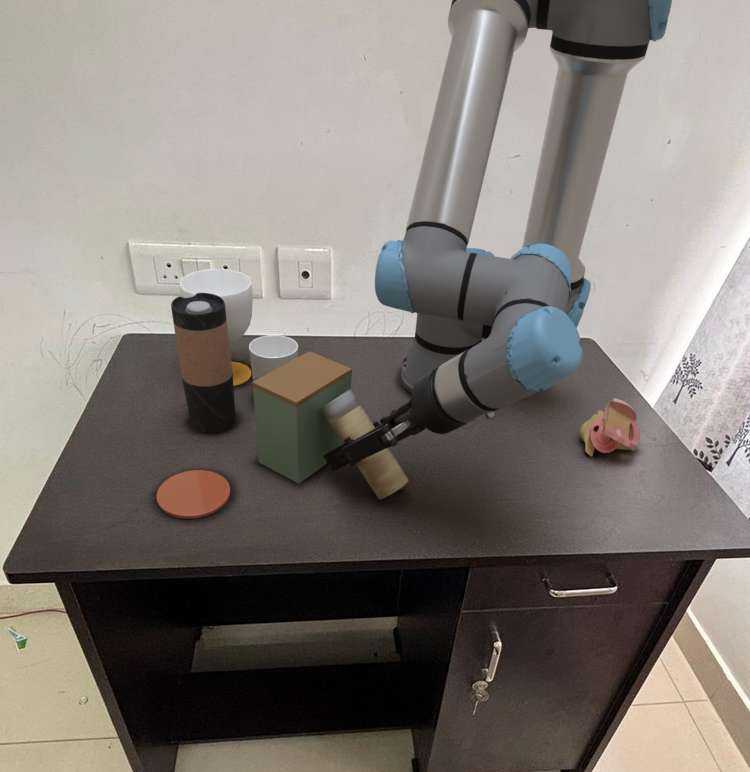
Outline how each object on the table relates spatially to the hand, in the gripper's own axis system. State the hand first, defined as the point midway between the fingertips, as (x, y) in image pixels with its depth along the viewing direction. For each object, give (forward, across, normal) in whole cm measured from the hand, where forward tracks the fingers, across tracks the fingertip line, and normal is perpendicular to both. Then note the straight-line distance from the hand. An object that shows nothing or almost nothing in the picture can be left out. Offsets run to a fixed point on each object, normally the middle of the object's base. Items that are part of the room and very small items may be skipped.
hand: (342, 453), depth 92 cm
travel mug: (+20, -3, +14) cm, 25 cm away
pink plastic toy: (-18, +33, -24) cm, 44 cm away
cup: (+27, +9, +21) cm, 35 cm away
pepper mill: (0, 0, -5) cm, 5 cm away
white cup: (+18, +9, +12) cm, 23 cm away
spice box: (+8, 0, +2) cm, 8 cm away
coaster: (+12, -17, +6) cm, 22 cm away
